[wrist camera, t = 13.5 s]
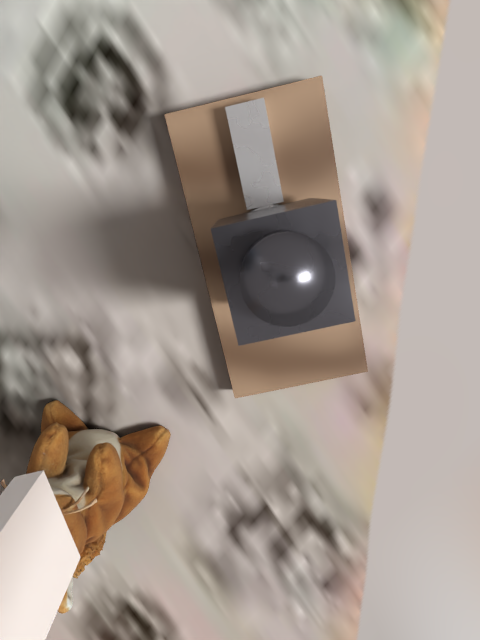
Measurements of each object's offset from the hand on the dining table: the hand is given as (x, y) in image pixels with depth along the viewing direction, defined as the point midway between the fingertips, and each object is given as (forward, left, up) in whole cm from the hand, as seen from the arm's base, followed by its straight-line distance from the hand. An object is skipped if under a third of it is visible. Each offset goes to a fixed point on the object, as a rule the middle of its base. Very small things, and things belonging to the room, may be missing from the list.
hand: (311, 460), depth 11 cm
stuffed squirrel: (+12, -17, -23) cm, 31 cm away
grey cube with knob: (-2, +1, -20) cm, 20 cm away
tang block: (-2, +1, -22) cm, 22 cm away
